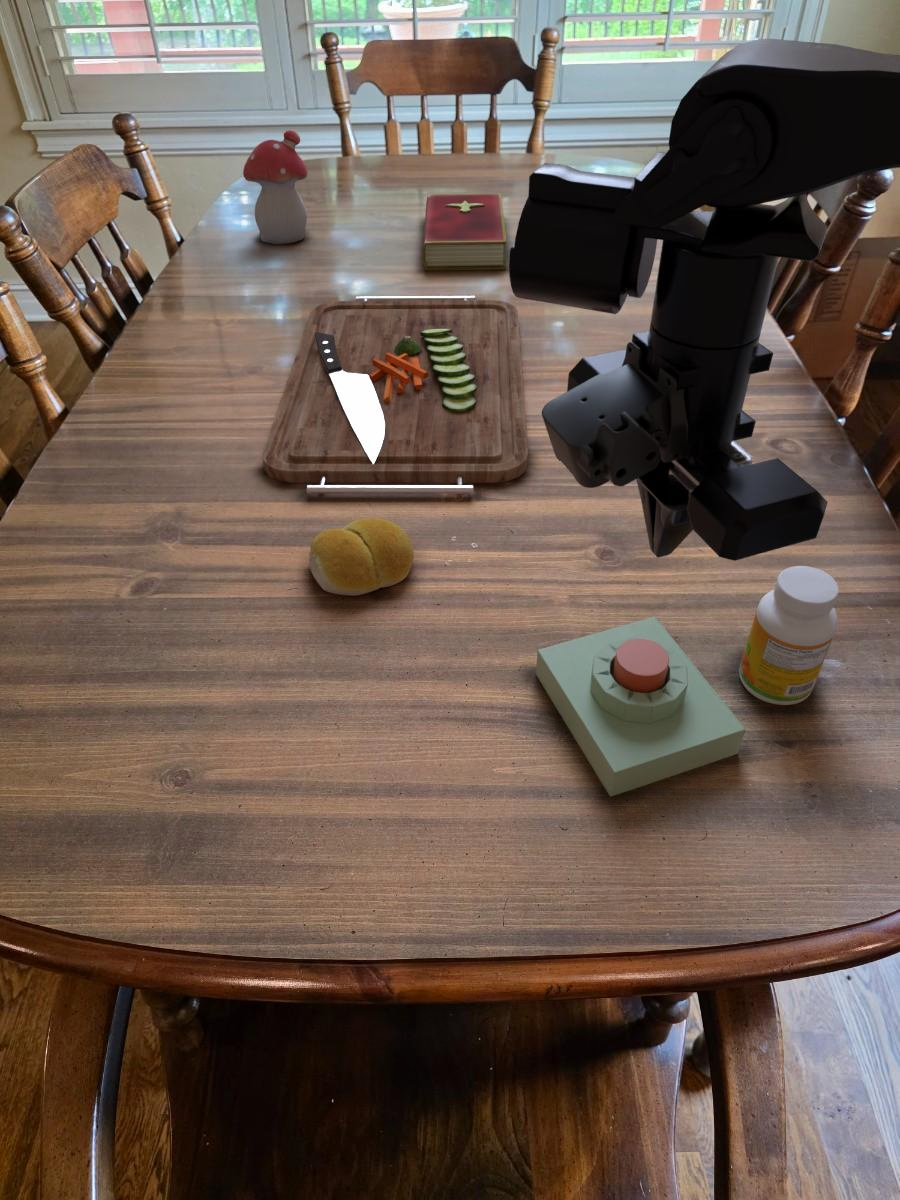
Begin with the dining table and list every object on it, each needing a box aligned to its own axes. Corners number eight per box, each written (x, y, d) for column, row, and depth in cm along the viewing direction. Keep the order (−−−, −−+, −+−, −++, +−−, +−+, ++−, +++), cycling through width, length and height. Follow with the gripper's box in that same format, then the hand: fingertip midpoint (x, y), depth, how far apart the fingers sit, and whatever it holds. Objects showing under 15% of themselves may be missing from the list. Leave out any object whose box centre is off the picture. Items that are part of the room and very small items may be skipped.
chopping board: (530, 497, 83) (531, 470, 81) (253, 497, 84) (248, 470, 82) (515, 302, 117) (516, 279, 115) (317, 303, 117) (315, 281, 115)
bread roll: (429, 577, 75) (427, 541, 72) (332, 611, 72) (327, 574, 69) (389, 526, 80) (387, 490, 78) (298, 555, 78) (292, 519, 75)
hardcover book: (422, 270, 125) (421, 240, 123) (426, 220, 141) (425, 192, 138) (505, 269, 125) (506, 239, 122) (500, 218, 141) (501, 191, 138)
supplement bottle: (749, 645, 68) (778, 549, 62) (819, 670, 66) (857, 573, 60) (728, 690, 65) (757, 593, 58) (802, 718, 63) (840, 620, 56)
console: (650, 640, 69) (658, 598, 66) (737, 754, 60) (752, 712, 57) (535, 674, 66) (538, 632, 63) (610, 797, 58) (617, 755, 55)
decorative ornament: (316, 230, 138) (304, 126, 128) (312, 245, 133) (299, 138, 123) (257, 231, 138) (241, 127, 128) (251, 246, 133) (233, 139, 123)
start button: (648, 650, 62) (652, 632, 61) (675, 685, 60) (679, 667, 59) (604, 663, 62) (606, 646, 60) (629, 699, 59) (632, 681, 58)
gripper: (496, 283, 50) (490, 501, 61) (666, 444, 37) (622, 686, 48) (663, 255, 53) (630, 468, 64) (874, 396, 40) (789, 634, 51)
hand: (660, 553), depth 57 cm, fingers closed
